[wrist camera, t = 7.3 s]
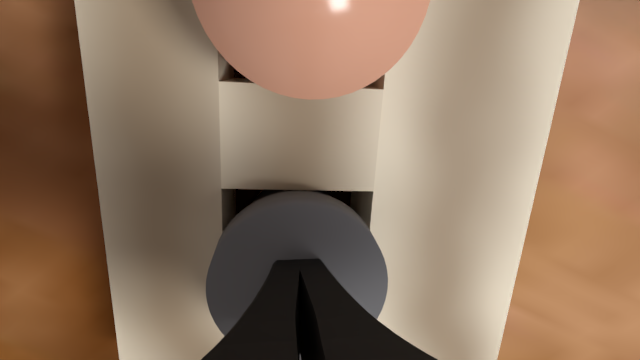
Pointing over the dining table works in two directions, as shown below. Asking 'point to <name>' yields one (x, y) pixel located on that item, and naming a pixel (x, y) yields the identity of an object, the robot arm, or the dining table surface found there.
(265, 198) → the charcoal plug
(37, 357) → the dining table surface
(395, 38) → the terracotta plug
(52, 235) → the dining table surface
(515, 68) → the panel
